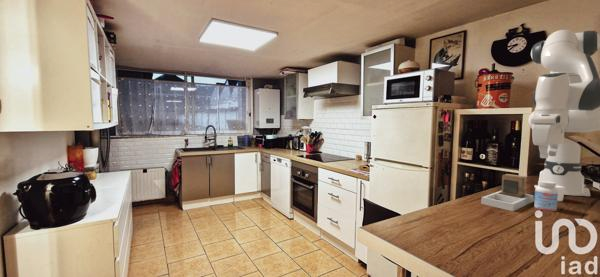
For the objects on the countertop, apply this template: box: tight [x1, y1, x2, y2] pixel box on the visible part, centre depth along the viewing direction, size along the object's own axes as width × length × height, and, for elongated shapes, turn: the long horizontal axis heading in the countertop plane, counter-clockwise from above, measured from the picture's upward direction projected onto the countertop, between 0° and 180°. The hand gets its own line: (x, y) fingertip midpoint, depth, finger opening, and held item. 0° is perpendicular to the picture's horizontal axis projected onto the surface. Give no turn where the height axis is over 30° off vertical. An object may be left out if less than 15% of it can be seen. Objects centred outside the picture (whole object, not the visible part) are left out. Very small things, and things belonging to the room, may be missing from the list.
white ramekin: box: [554, 185, 565, 202], centre depth 105 cm, size 7×7×7 cm
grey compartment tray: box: [480, 189, 535, 212], centre depth 101 cm, size 20×10×4 cm, turn 123°
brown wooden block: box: [501, 173, 527, 198], centre depth 103 cm, size 6×6×10 cm
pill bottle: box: [533, 180, 558, 212], centre depth 94 cm, size 6×6×11 cm
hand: (548, 157), depth 93 cm, fingers open, 8 cm apart
